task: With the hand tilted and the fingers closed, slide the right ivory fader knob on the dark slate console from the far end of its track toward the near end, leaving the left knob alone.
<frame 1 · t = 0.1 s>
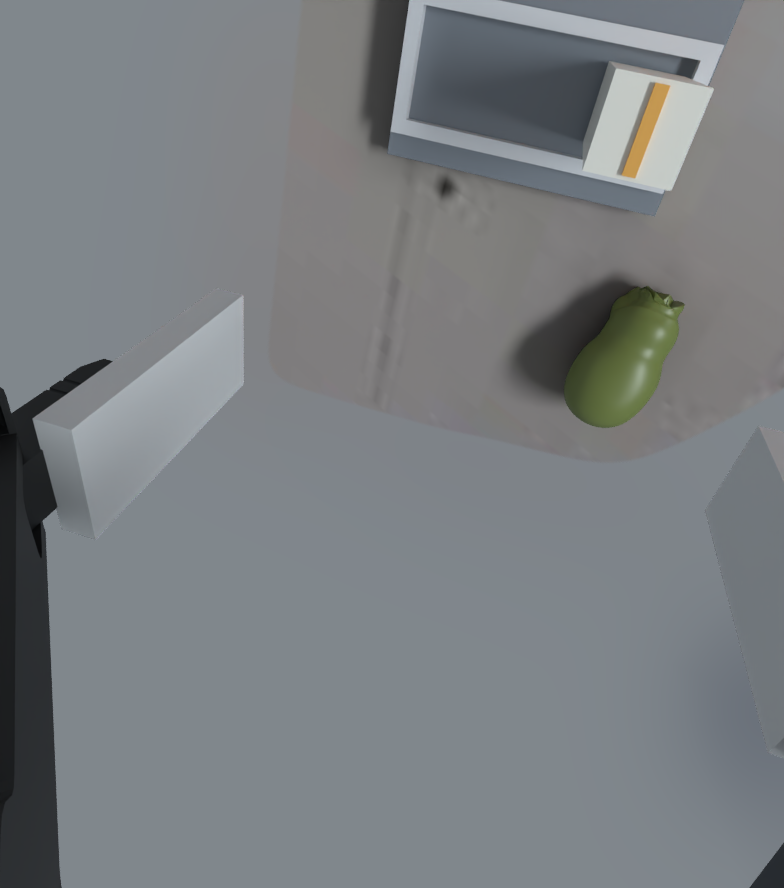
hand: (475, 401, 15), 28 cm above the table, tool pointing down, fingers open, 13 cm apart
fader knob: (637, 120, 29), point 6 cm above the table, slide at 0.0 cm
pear: (622, 343, 42), on the table
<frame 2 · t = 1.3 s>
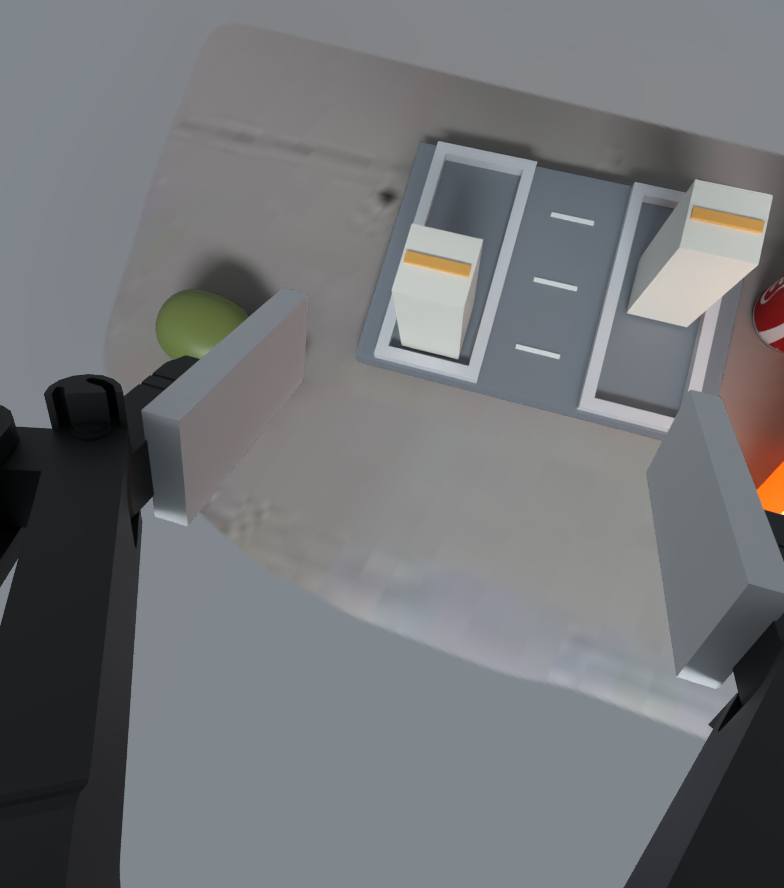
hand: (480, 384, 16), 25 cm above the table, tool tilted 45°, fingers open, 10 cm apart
console: (551, 293, 42), on the table
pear: (240, 356, 44), on the table
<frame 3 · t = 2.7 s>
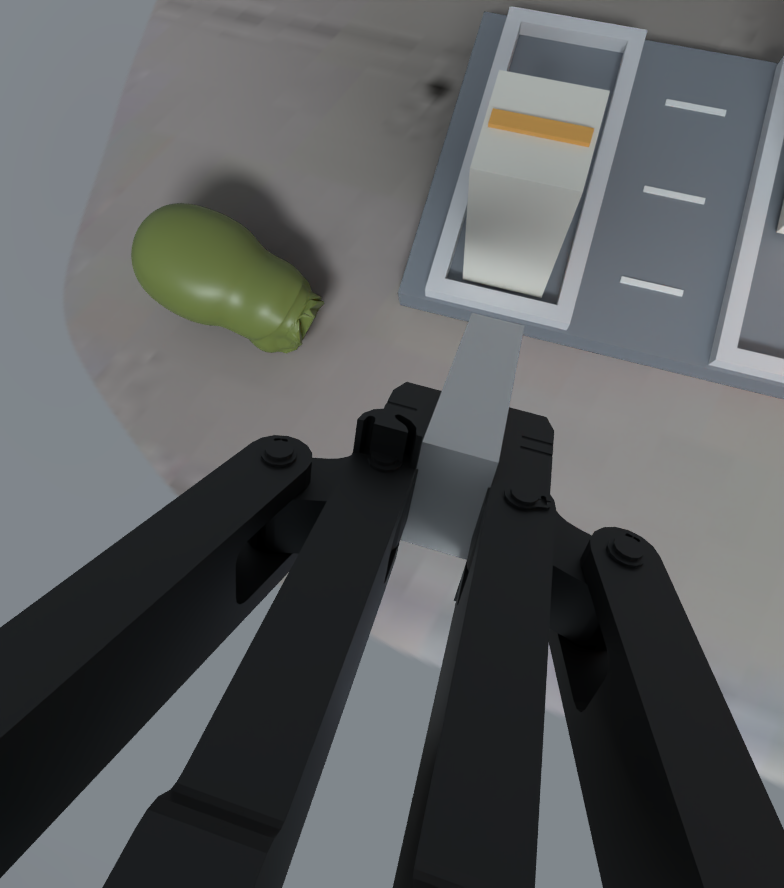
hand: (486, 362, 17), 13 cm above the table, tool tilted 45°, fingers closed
console: (662, 211, 31), on the table
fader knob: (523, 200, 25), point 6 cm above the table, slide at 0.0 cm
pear: (246, 300, 33), on the table
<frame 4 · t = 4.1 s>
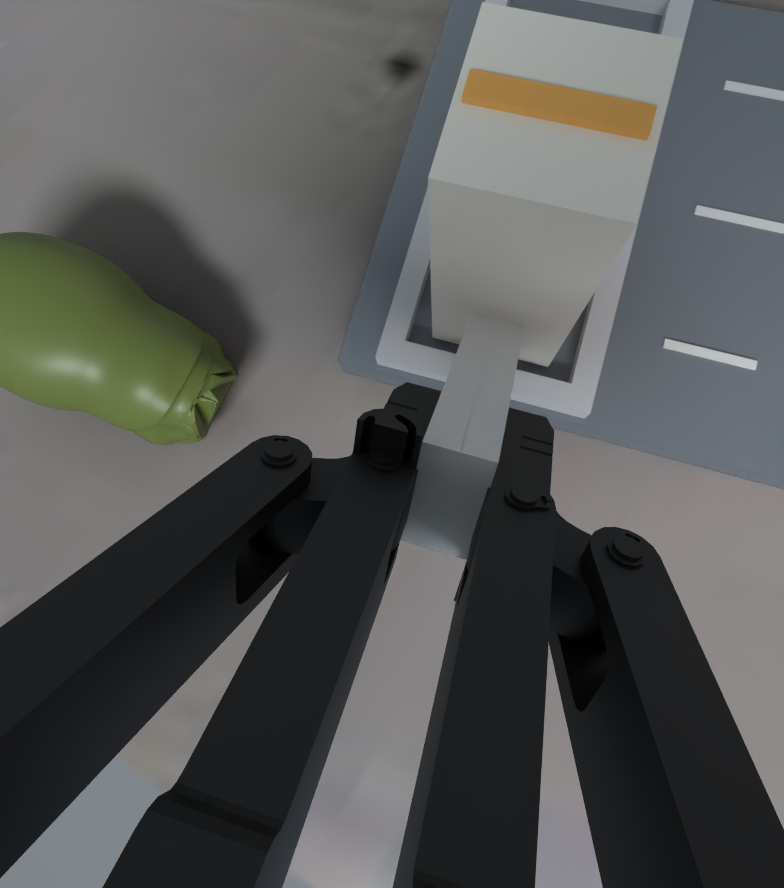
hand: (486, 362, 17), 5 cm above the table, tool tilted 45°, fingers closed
console: (718, 241, 22), on the table
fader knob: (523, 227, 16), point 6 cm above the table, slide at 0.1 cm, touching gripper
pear: (135, 366, 23), on the table
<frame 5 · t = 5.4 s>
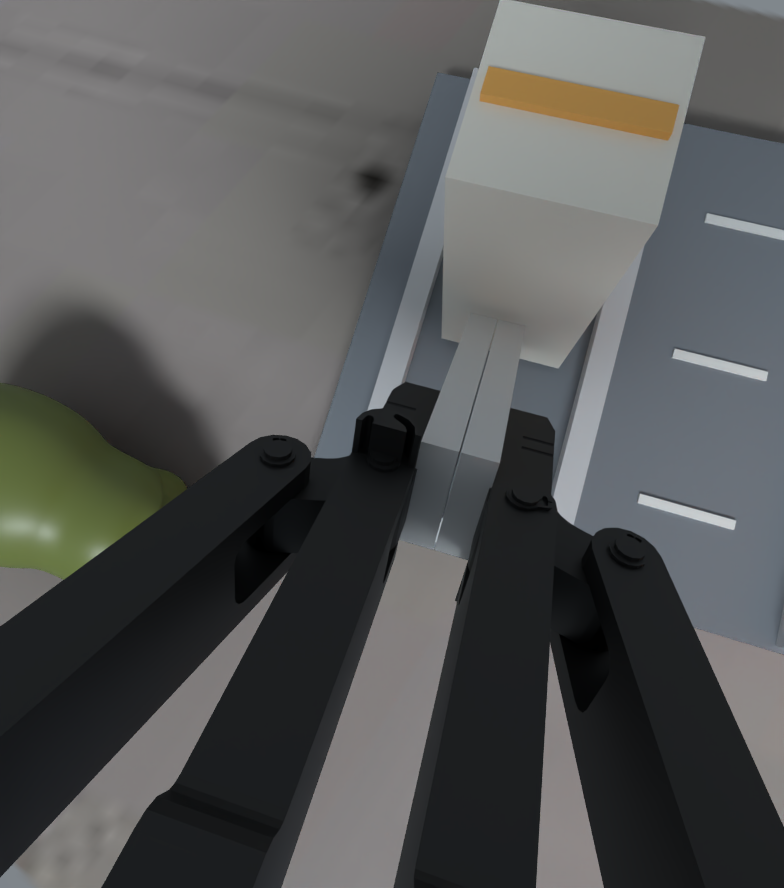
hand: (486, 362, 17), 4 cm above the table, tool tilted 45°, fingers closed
console: (698, 377, 21), on the table
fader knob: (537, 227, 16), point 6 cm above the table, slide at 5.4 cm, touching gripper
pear: (97, 500, 22), on the table
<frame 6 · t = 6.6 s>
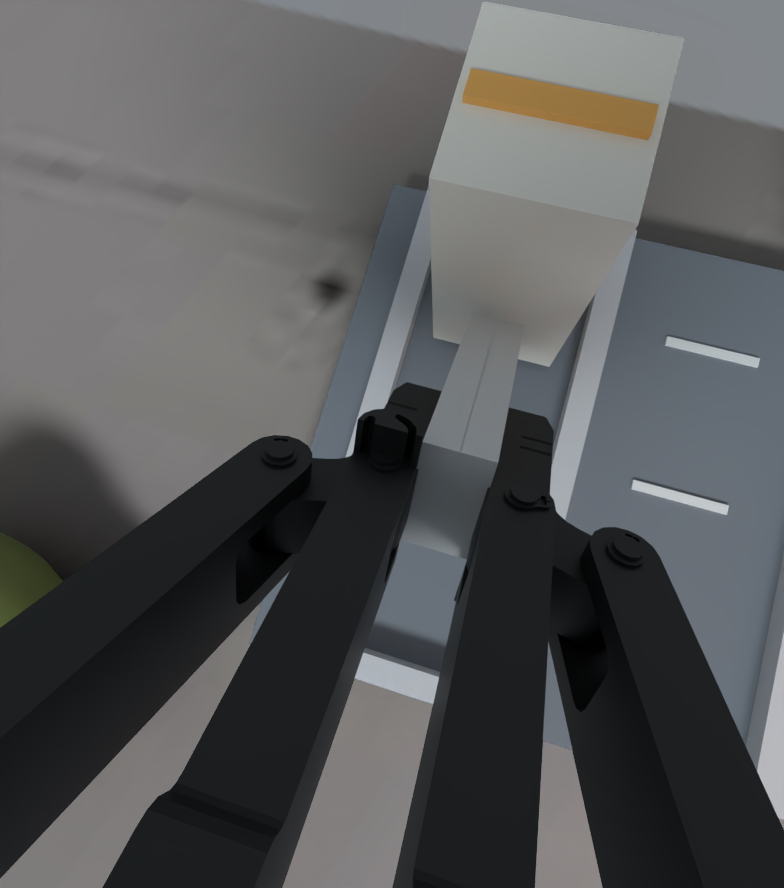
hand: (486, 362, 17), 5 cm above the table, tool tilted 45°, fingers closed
console: (661, 500, 21), on the table
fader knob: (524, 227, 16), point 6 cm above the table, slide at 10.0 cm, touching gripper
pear: (55, 626, 22), on the table
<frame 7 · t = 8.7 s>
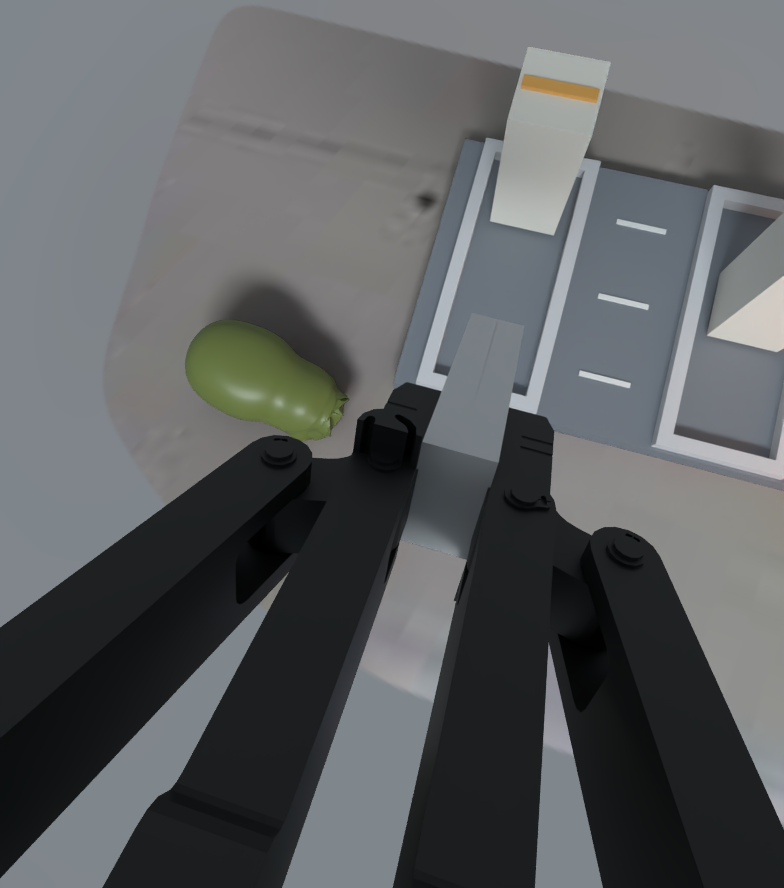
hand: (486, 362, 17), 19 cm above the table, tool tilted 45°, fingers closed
console: (615, 311, 37), on the table
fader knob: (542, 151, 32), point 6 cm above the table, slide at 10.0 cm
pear: (279, 393, 38), on the table
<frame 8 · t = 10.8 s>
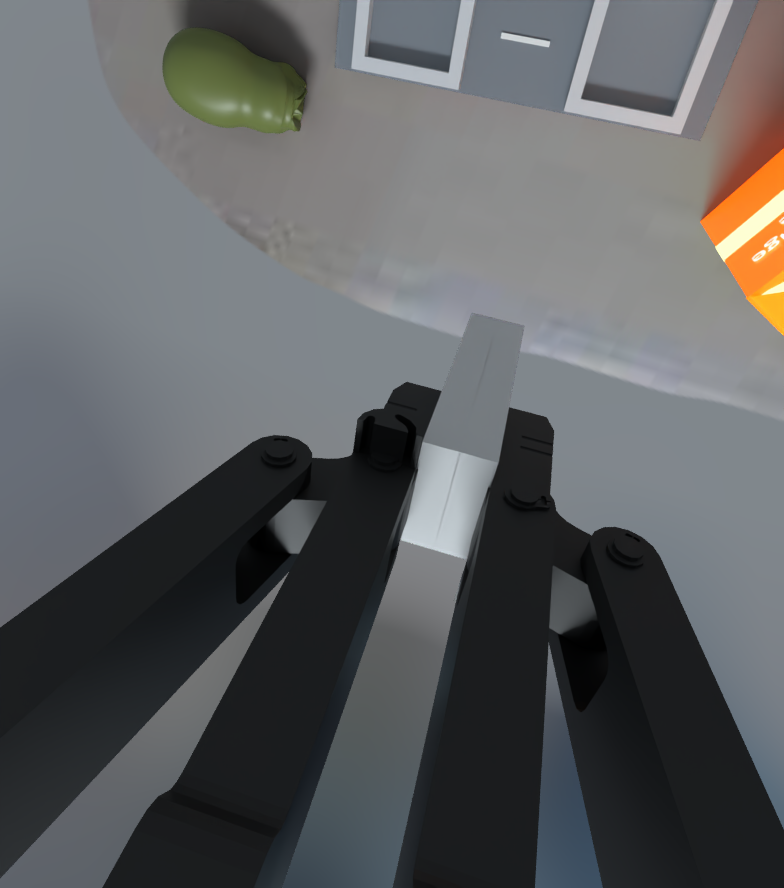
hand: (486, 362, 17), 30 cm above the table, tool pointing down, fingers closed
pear: (253, 84, 43), on the table
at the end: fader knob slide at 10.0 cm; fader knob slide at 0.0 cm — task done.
